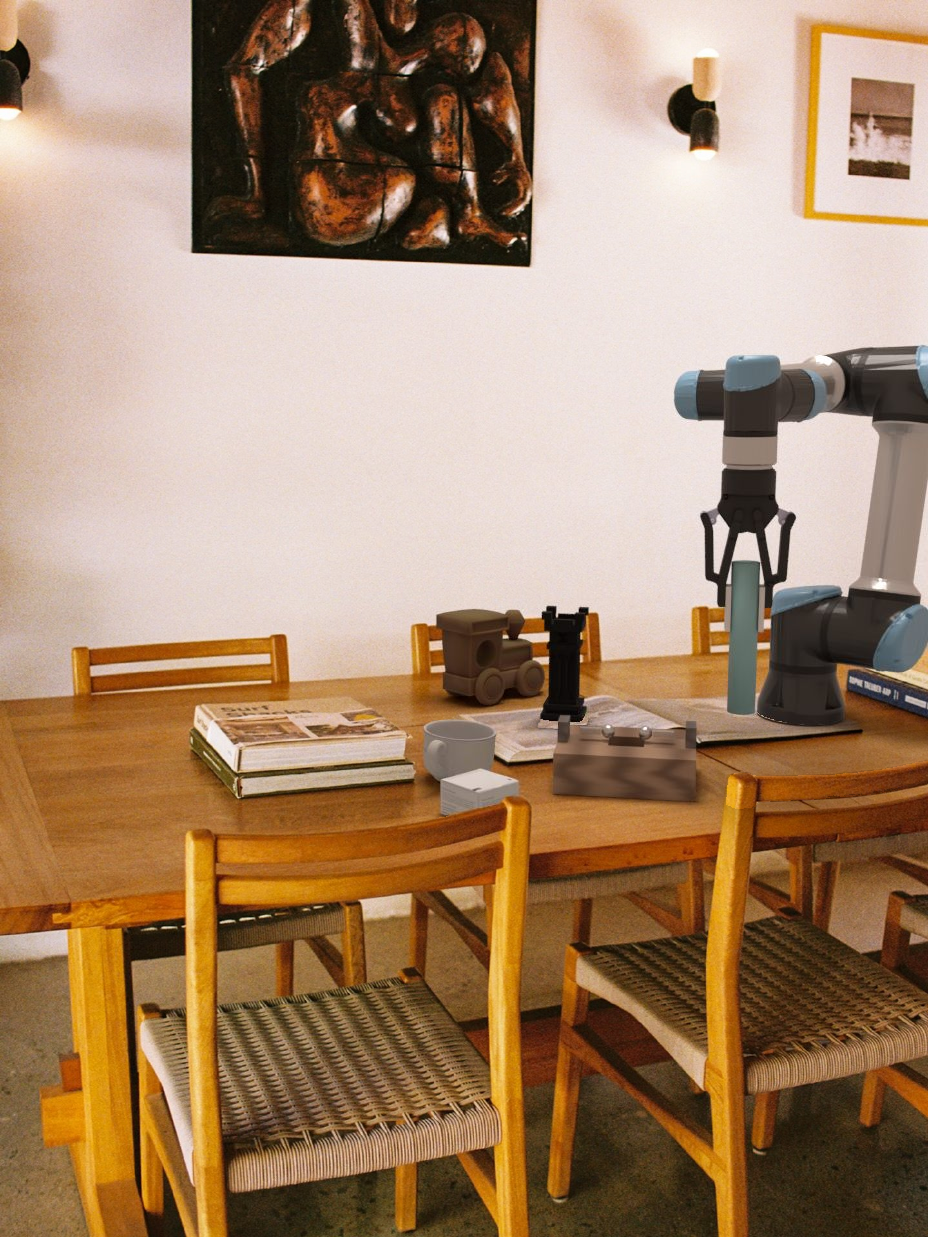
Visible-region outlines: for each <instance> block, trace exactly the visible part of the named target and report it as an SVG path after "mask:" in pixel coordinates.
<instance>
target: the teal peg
mask: <svg viewBox="0 0 928 1237" xmlns="http://www.w3.org/2000/svg"><path fill="white" fill-rule="evenodd" d="M730 569H731V572H730V576H731V577H730V584H731V586H732V589H731V620H730V631H728V633H729V635H728V638H729V639H728V662H727V663H728V667H727V668H728V669H727V693H726V694H727V696H726V697H727V698H726V699H727V700H726V701H727V702H726V703H727V704H726V712H727V713H729V714H732V715H737V716H750V715H753V714H755V713H756V696H757V695H756V693H757V691H756V690H757V669H758V667H757V666H758V641H759V640H758V639H759V638H758V637H759V636H758V635H759V632H758V609H759V585H760V584H761V583H760V581H761V580H760V579H761V561H759V560H748V559H746V560H745V559H742V560H741V559H738V560H732V562H731V566H730Z"/></svg>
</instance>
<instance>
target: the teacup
mask: <svg viewBox="0 0 928 1237" xmlns="http://www.w3.org/2000/svg"><path fill="white" fill-rule="evenodd" d="M422 730H423V743H422V744H423V746H422V747H423V749H422V750H423V751H422V753H423V758H422V759H423V765H424V767H425V769H426V771H427V772H428V773H430V775H432V776H433V779H435V780H436V781H438V782H440V780H441V779H445V778H449V777H453V776H456V775H460V774H463V773H467V772H471V771H474V770H477V769H484V770H487V771H490V772H492V768H493V764H494V759H495V758H494V757H495V750H496V749H495V748H496V737H497V734H498V731H497V730H496V728H495V727H493V726H491V725H489V724H487V723H484V722H483V723H482V722H479V721H473V720H468V719H439V720H435V721H434V720H433V721H431V722H428V723H426V724H424V726H423V728H422Z"/></svg>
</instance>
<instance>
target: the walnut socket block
mask: <svg viewBox="0 0 928 1237" xmlns="http://www.w3.org/2000/svg"><path fill="white" fill-rule="evenodd" d="M581 726H584V727H601V731H602V728H603V726H604V725H570V716H567V715H560V717H559V720H558V729H556V731H557V735H556V736H557V737H556V739H557V740H556V745H555V747H554V750H553V754H552V755H553V756H552V795H568V796H569V795H570V796H588V797H602V798H603V797H604V798H622V799H623V798H624V799H637V800H638V799H642V800H657V801H658V800H660V801H675V802H677V801H679V802H692V803H693V802H696V778H697V728H698V727H697V721H694V720H686V721H685V729H673V728H672V729H671V728H653V727H651V728H650V727H649V728H650V729H651V730H652V736H651V738H650V739H648V740H643V739H641V738H640V737H639V734H638V732H639V729H640V728H641V727H630V726H629V727H628V726H613V727H614V729H615V734H614V736H613V737H611V738H605V737H604V736H603V735H602V732H601V735H594V734H580V727H581ZM653 730H670V731H674V738H657V737H653Z"/></svg>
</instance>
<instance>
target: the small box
mask: <svg viewBox="0 0 928 1237" xmlns="http://www.w3.org/2000/svg"><path fill="white" fill-rule="evenodd" d="M439 782H440V814H441V815H442V816H446V815H450V814H454V813H459V812H462V811H467V810H470V809H476V808H483V807H487V806H492V805H495V804H499V803H500V802H501V801H502V800H503V799H504V798H505V797H507V796H519V797H520V781H519V780H517V779H515V778H512V777H511V776H510V777H509V776H506V775H503V774H500V773H495V772H493V771H487V770H484V769H477V770H474V771H471V772H467V773H463V774H460V775H456V776H453V777H449V778H445V779H441V780H440V781H439Z"/></svg>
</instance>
